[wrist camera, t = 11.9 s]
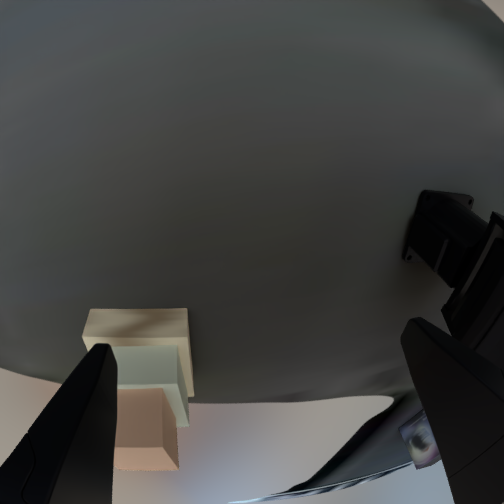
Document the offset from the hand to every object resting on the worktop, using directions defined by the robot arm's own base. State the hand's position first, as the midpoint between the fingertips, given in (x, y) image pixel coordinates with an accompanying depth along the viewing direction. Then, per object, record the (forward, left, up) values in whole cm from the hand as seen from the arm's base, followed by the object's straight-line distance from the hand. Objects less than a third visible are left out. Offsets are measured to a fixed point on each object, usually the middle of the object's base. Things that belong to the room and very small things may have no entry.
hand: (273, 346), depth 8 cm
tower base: (+7, +14, -14) cm, 21 cm away
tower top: (+7, +14, -10) cm, 19 cm away
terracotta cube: (+7, +14, -6) cm, 17 cm away
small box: (-38, +43, -13) cm, 59 cm away
